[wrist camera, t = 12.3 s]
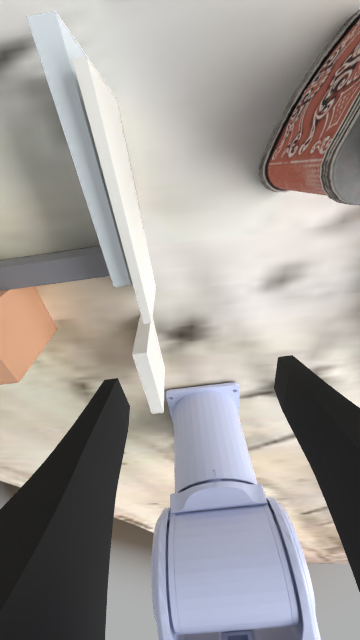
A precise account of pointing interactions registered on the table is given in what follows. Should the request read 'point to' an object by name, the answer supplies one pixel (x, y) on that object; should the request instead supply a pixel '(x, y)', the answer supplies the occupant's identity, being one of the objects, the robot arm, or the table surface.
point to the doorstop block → (22, 331)
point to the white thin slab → (125, 222)
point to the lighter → (321, 127)
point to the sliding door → (64, 86)
